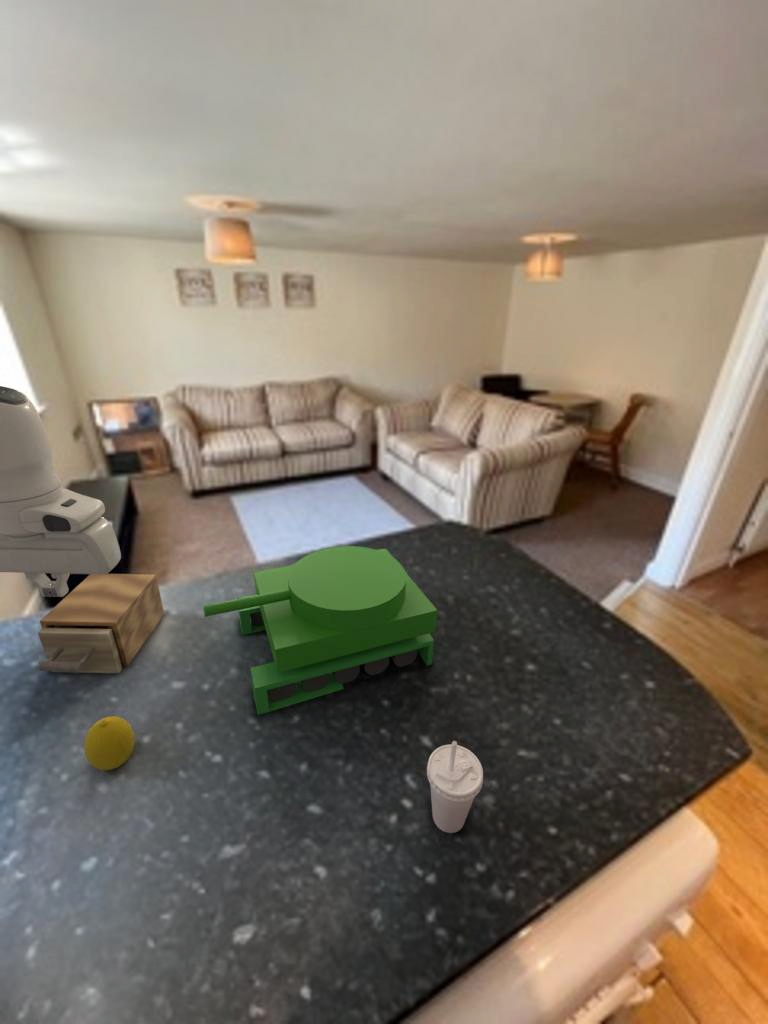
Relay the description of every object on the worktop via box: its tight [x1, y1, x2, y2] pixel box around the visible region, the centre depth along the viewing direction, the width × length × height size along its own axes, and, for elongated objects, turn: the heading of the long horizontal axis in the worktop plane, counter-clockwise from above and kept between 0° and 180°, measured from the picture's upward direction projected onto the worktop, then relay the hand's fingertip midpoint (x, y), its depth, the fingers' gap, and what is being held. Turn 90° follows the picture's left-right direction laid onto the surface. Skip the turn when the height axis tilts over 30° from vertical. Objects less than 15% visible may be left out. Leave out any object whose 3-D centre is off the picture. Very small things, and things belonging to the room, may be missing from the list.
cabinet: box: [39, 573, 165, 667], centre depth 80 cm, size 14×12×10 cm
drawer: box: [37, 625, 123, 674], centre depth 76 cm, size 18×11×8 cm, turn 0°
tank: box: [203, 545, 438, 716], centre depth 78 cm, size 24×35×16 cm
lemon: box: [84, 715, 136, 771], centre depth 59 cm, size 6×6×8 cm
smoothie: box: [426, 740, 484, 834], centre depth 52 cm, size 6×6×14 cm
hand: (55, 594), depth 66 cm, fingers closed
